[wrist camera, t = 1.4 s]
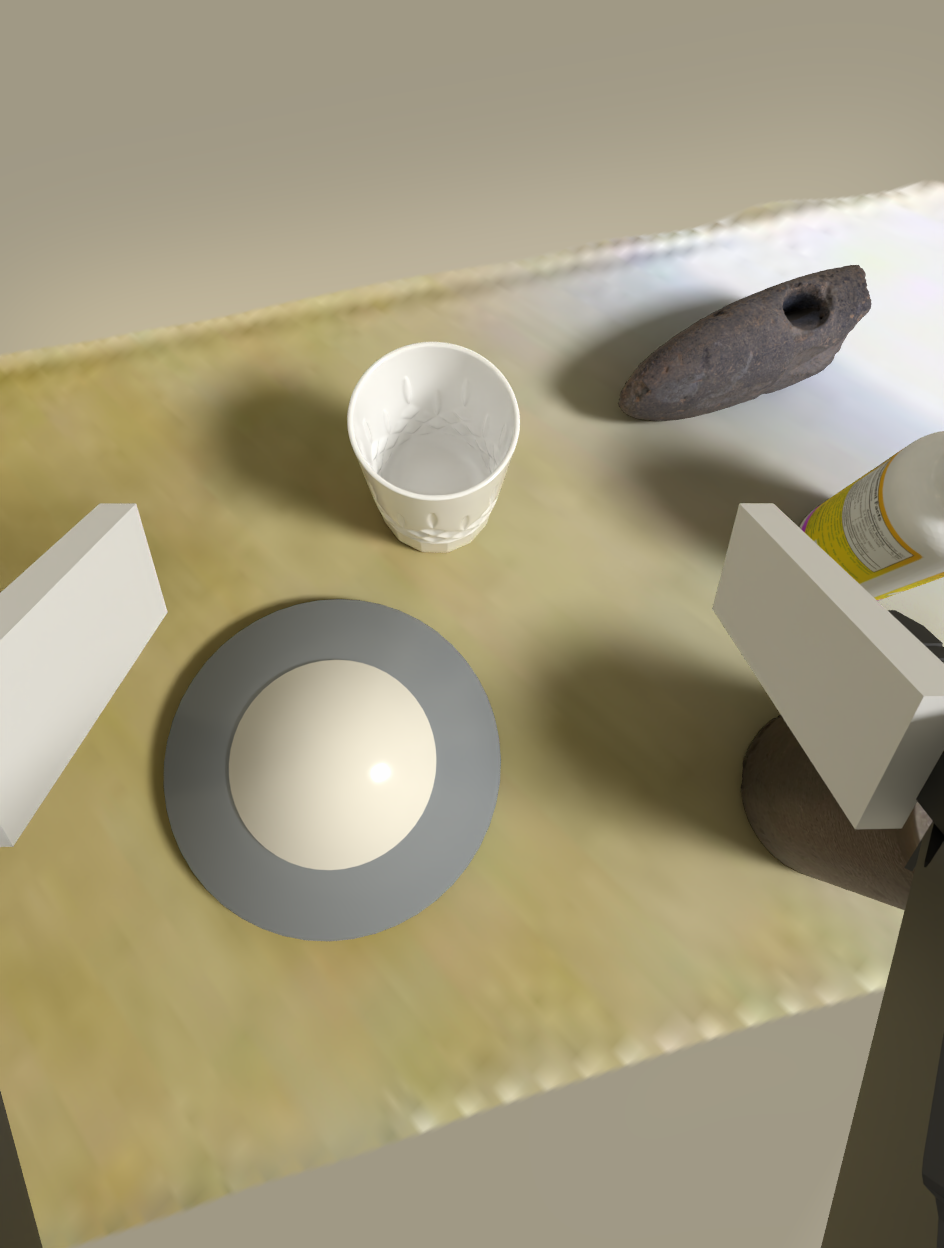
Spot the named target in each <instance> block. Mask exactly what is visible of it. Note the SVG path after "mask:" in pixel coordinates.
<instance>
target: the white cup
mask: <svg viewBox="0 0 944 1248" xmlns="http://www.w3.org/2000/svg"><path fill="white" fill-rule="evenodd" d="M347 427H348V434H349V438H350V442H351V445H352V448H353V450H354V453H355V455H356V457H357V460H358V462H359V465H360V467H361V470H362V472H363V475H364V477H365V480H366V482H367V485H368V487H369V490H370V492H371V494H372V496H373V498H374V501H375V503H376V505H377V507H378V509H379V510H380V512H381V514H382V516H383V519H384V521H385V523H386V524H387V525H388V527H389V528H390V529H391V530H392V532H393V533H394V534H395V536H396V537H397V538H398V539H399V541H401V542H403V543H405V544H407V545H409V546H411V547H413V548H415V549H417V550H419V551H421V552H438V553H448V552H450V551H453V550H455V549H457V548H460V547H462V546H464V545H467V544H469V543H471V542H472V541H473V539H474V538H475V537H476V536H477V535H478V534H479V533H480V531H481V530H482V529H483V528H484V527H485V526H486V524H487V522H488V518H489V515H490V513H491V511H492V509H493V507H494V505H495V503H496V501H497V498H498V496H499V493H500V491H501V489H502V486H503V483H504V480H505V477H506V474H507V470H508V467H509V464H510V461H511V459H512V456H513V453H514V450H515V447H516V444H517V440H518V436H519V429H520V416H519V409H518V404H517V400H516V397H515V395H514V392H513V390H512V388H511V386H510V384H509V383H508V381H507V380H506V378H505V377H504V375H503V374H502V373H501V372H500V371H499V370H498V369H497V368H496V367H495V366H494V365H493V364H492V363H491V362H490V361H488V360H487V359H486V358H484V357H483V356H481V355H479V354H478V353H476V352H474V351H472V350H470V349H467V348H465V347H462V346H459V345H455V344H450V343H444V342H421V343H415V344H410V345H406V346H403V347H400V348H398V349H395V350H393V351H391V352H389V353H387V354H386V355H384V356H383V357H381V358H380V359H378V360H377V361H376V362H375V363H373V364H372V365H371V366H370V367H369V368H368V369H367V370H366V372H365V373H364V374H363V375H362V377H361V378H360V380H359V381H358V383H357V385H356V386H355V388H354V391H353V393H352V396H351V399H350V402H349V407H348V414H347Z"/></svg>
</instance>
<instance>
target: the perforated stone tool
mask: <svg viewBox="0 0 944 1248" xmlns="http://www.w3.org/2000/svg"><path fill="white" fill-rule="evenodd" d="M865 275H866V274H865V272H864V270H863V269H862V268H860V266H859V265H850V266H845V267H841V268H834V269H828V270H825V271H820V272H817V273H812V274H809V275H805V276H802V277H799V278H796V279H792V280H790V281H786V282H784V283H781V284H778V285H776V286H773V287H770V288H767V289H765V290H762V291H760V292H757V293H755V294H752V295H750V296H748V297H745V298H743V299H741V300H738V301H736V302H734V303H732V304H729V305H727V306H726V307H724V308H722V309H720V310H718V311H716V312H714V313H712V314H710V315H709V316H707V317H705V318H703V319H700V320H699V321H698V322H696V323H695V324H693V325H691V326H690V327H688V328H687V329H685V330H684V331H682V332H680V333H679V334H677V335H676V336H674V337H673V338H672V339H670V340H669V341H668V342H667V343H665V344H664V345H662V346H661V347H659V348H658V349H657V350H656V351H655V352H653V353H652V354H651V355H650V356H649V357H648V358H647V359H645V360H644V361H643V362H642V363H640V365H639V366H638V368H637V369H636V370H635V371H634V372H633V374H632V375H631V376H630V378H629V380H628V381H627V382H626V383H625V386H624V388H623V390H622V391H621V394H620V399H619V403H618V405H619V407H620V408H621V409H622V411H623V412H624V413H626V414H627V415H630V416H632V417H634V418H638V419H645V420H653V421H667V420H679V419H685V418H691V417H695V416H699V415H703V414H707V413H711V412H714V411H717V410H721V409H724V408H728V407H731V406H734V405H737V404H739V403H743V402H746V401H749V400H752V399H755V398H757V397H758V396H759V395H761V394H767V393H771V392H775V391H777V390H781V389H783V388H786V387H788V386H791V385H793V384H795V383H798V382H800V381H802V380H804V379H806V378H809V377H811V376H813V375H815V374H817V373H819V372H821V371H822V370H824V369H825V368H826V367H827V366H828V365H829V364H830V363H831V362H832V360H833V359H834V356H835V354H836V353H837V352H838V351H839V350H840V348H841V345H842V343H843V341H844V340H845V338H846V336H847V334H848V333H849V332H850V331H851V330H852V329H853V328H854V327H855V325H856V324H857V323H858V322H859V321H860V320H861V318H862V317H864V316H865V315H866V313H868V312H869V310H870V308H871V299H870V295H869V291H868V290H867V288H866V287H867V283H866V279H865Z"/></svg>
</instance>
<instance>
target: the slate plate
mask: <svg viewBox="0 0 944 1248" xmlns="http://www.w3.org/2000/svg"><path fill="white" fill-rule="evenodd" d="M500 766H501V756H500V744H499V736H498V731H497V726H496V722H495V717H494V714H493V711H492V708H491V706H490V703H489V700H488V697H487V695H486V693H485V691H484V689H483V687H482V685H481V683H480V681H479V679H478V677H477V676H476V674H475V673H474V672H473V670H472V669H471V667H470V666H469V664H468V663H467V661H466V660H465V659H464V658H463V657H462V655H461V654H460V653H459V652H458V651H457V650H456V649H455V648H454V647H453V645H452V644H450V643H449V642H448V641H447V640H446V639H445V638H443V637H442V636H441V635H440V634H439V633H438V632H436V631H435V630H434V629H432V628H430V627H429V626H427V625H426V624H424V623H423V622H421V621H420V620H418V619H416V618H414V617H412V616H410V615H408V614H406V613H403V612H401V611H399V610H396V609H393V608H390V607H387V606H384V605H381V604H376V603H371V602H365V601H360V600H345V599H333V600H318V601H313V602H308V603H302V604H297V605H294V606H291V607H288V608H285V609H282V610H279V611H276V612H274V613H272V614H270V615H267V616H265V617H263V618H261V619H259V620H257V621H255V622H254V623H252V624H250V625H249V626H247V627H246V628H244V629H243V630H241V631H239V632H238V633H237V634H236V635H234V636H233V637H232V638H231V639H229V640H228V641H227V642H226V643H224V644H223V645H222V646H221V647H220V648H219V649H218V650H217V651H216V652H215V653H214V654H213V655H212V656H211V657H210V658H209V659H208V661H207V662H206V663H205V664H204V666H203V667H202V668H201V670H200V671H199V672H198V674H197V675H196V676H195V678H194V679H193V680H192V682H191V684H190V686H189V687H188V689H187V691H186V693H185V694H184V696H183V698H182V700H181V702H180V705H179V707H178V710H177V712H176V714H175V717H174V719H173V722H172V726H171V730H170V733H169V737H168V741H167V747H166V754H165V761H164V793H165V801H166V809H167V813H168V817H169V821H170V825H171V828H172V832H173V834H174V837H175V839H176V842H177V844H178V846H179V849H180V851H181V853H182V855H183V857H184V858H185V860H186V862H187V863H188V865H189V867H190V869H191V870H192V872H193V873H194V874H195V876H196V877H197V878H198V879H199V881H200V882H201V883H202V884H203V886H204V887H205V888H206V890H208V891H209V892H210V893H211V894H212V895H213V896H214V897H215V898H216V899H217V900H218V901H219V902H220V903H221V904H222V905H224V906H225V907H226V908H228V909H229V910H231V911H232V912H233V913H235V914H236V915H238V916H239V917H241V918H242V919H244V920H246V921H248V922H250V923H252V924H254V925H256V926H258V927H260V928H262V929H265V930H268V931H271V932H273V933H276V934H279V935H282V936H287V937H292V938H297V939H303V940H313V941H337V940H347V939H355V938H359V937H363V936H367V935H372V934H376V933H378V932H381V931H383V930H386V929H389V928H391V927H394V926H396V925H398V924H400V923H402V922H404V921H406V920H407V919H409V918H411V917H413V916H415V915H417V914H418V913H420V912H421V911H422V910H424V909H425V908H426V907H428V906H429V905H430V904H432V903H433V902H435V901H436V900H437V899H438V898H439V897H440V896H441V895H442V894H443V893H444V892H445V891H446V890H448V889H449V888H450V887H451V886H452V885H453V884H454V882H455V881H456V880H457V879H458V878H459V876H460V875H461V874H462V873H463V871H464V870H465V869H466V868H467V866H468V865H469V863H470V862H471V860H472V858H473V857H474V855H475V854H476V852H477V850H478V849H479V847H480V845H481V843H482V841H483V838H484V836H485V834H486V832H487V830H488V827H489V825H490V822H491V818H492V815H493V812H494V809H495V805H496V801H497V795H498V789H499V783H500Z"/></svg>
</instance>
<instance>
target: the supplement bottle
mask: <svg viewBox="0 0 944 1248" xmlns="http://www.w3.org/2000/svg"><path fill="white" fill-rule="evenodd" d="M799 528H800V529H801V530H802V531H803V532H804V533H805V534H807V535H808V536H809V537H810V538H811V539H812V540H813V541H814V542H815V543H816V544H817V545H818V546H819V547H820V548H821V549H823V550H824V551H825V552H826V553H827V554H828V555H829V556H830V557H831V558H832V559H833V560H834V561H835V562H836V563H837V564H838V565H840V566H841V567H842V568H843V569H844V570H845V571H846V572H847V573H848V574H849V575H850V576H851V577H852V578H853V579H854V580H856V581H857V582H858V583H859V584H860V585H861V586H862V587H863V588H864V589H865V590H866V591H867V592H868V593H869V594H870V595H872V596H873V597H874V598H875V599H876V600H877V601H878V600H881V599H884V598H887V597H889V596H892V595H895V594H898V593H900V592H903V591H905V590H908V589H911V588H914V587H917V586H920V585H922V584H926V583H928V582H931V581H934V580H936V579H939V578H942V577H944V431H942V432H937V433H933V434H930V435H927V436H924V437H922V438H920V439H918V440H916V441H914V442H913V443H911V444H910V445H908V446H907V447H905V448H904V449H902V450H901V451H899V452H898V453H896V454H895V455H893V456H892V457H890V458H889V459H888V460H886V461H885V462H883V463H882V464H880V465H879V466H877V467H876V468H874V469H873V470H871V471H870V472H868V473H867V474H865V475H864V476H862V477H861V478H859V479H858V480H856V481H855V482H853V483H852V484H850V485H849V486H847V487H846V488H844V489H843V490H842V491H840V492H839V493H837V494H836V495H834V496H833V497H831V498H830V499H828V500H827V501H825V502H824V503H822V504H821V505H820V506H818V507H817V508H815V509H814V510H813V511H811V512H810V513H809V514H808V515H807V516H806V518H805V519H804V520H803V522H802V523H801V525H800V527H799Z"/></svg>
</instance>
